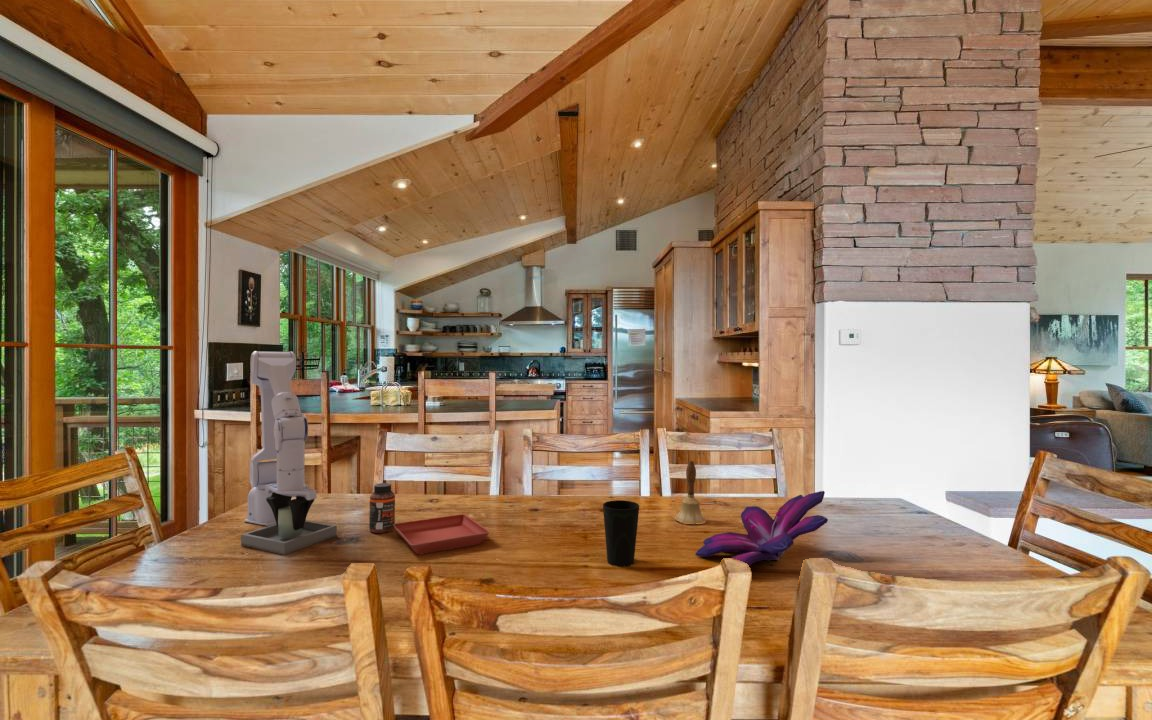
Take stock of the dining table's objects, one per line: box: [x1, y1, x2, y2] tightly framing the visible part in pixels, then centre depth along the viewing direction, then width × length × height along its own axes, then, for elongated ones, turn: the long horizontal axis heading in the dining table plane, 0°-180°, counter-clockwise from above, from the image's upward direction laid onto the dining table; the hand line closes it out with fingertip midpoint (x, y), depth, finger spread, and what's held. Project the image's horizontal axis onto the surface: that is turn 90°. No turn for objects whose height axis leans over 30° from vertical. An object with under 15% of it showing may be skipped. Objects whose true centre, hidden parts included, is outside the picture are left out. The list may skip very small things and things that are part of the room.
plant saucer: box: [393, 513, 490, 555], centre depth 128 cm, size 18×18×3 cm
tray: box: [240, 519, 338, 556], centre depth 127 cm, size 14×14×2 cm
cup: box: [602, 499, 640, 568], centre depth 115 cm, size 8×8×12 cm
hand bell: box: [674, 460, 707, 524], centre depth 145 cm, size 8×8×16 cm
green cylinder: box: [278, 506, 302, 538], centre depth 127 cm, size 5×5×6 cm
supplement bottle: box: [368, 482, 396, 534], centre depth 135 cm, size 6×6×11 cm
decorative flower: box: [695, 490, 829, 567], centre depth 116 cm, size 31×31×10 cm
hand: (290, 527), depth 127 cm, fingers closed on green cylinder, 5 cm apart
